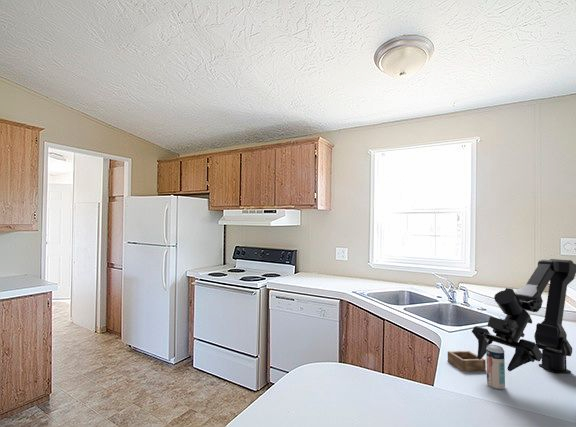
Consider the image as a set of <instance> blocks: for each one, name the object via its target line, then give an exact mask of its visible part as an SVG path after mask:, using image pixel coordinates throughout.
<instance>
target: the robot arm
mask: <svg viewBox="0 0 576 427" xmlns="http://www.w3.org/2000/svg"><path fill="white" fill-rule="evenodd" d="M575 277H576V263H574V262H573V260H569V259H557V258H551V259H540V260H538V262H537V266H536V268H535V269H534V271H533V273H532V274H531V276H530V277H529V279H528V281H527V282H526V284H524V286H521V287H518V288H517V289H516V290H514V288H507V287H506V288H505V289H504V290H501V291H498V292H497V293H495V294H494V298H493V300H494V301H495V303H496V304H497V306H498V307H499V309H500V310H501V311H502V313H504V315H506V316H505V318H504V319H502V318H498V317H494V316H489V318H488V322H487V325H486V326H487V327H488V328H491V329H492V332H493V333H494V334H495V335H494V334H491V332H490V331H489V330H488V328H485V327H481V326H477V325H476V326H474V327H473V328H472V329H471V333H472V334H473V335H474V337H475V338H476V340H477V341H478V343H477V345H478V346H477V347H478V348H477V358H478V359H479V360H480V359H481V358H483V359H484V356H485V355H486V348H487V347H488V345H493V344H492V343H498V344H501V345H504V346H507V347H510V348H513V349H515V350H514V351H515V352H514V354H513V356H512V357H511V359H510V361H509V364H508V366H507V369H506V370H507V371H508V372H512V371H514V370H515V369H517V368H519V367H521V366H523V365H526V364H528V363H530V362H532V363H534V362H535V361H536V362H541V363H539V364H538V366H539V367H541V368H542V369H543V368H544V369H545V370H548V371H550V372H552V373H555V374H563V373H566V374H568V373H572V371H571V370H570V369H567V357H572V353H573V347H572V346H571V343H570V341H569V340H568V339H567V332H566V330H565V328H564V326H563V318H564V310H565V304H566V296H567V288H568V285H569V284H571V283H572V282H573V281H574V280H575ZM548 284H549V285H548ZM547 285H548V286H549V287H548V292H547V293H548V294H547V300H546V306H545V313H544V320H542V321H541V322H538V323H536V326H535V333H534V341H535V342H534V341H530V340H527V339H523V338H524V337H525V333H524V331H525V329H526V328H527V325H528V324H533V319H532V318H531V314H529V312H531V313H538V312H539V311H540V309H541V308H542V305H543V302H544V300H543V298H542V295H543V293H544V291H545V289H546V288H547ZM520 338H521V339H520ZM540 349H541V350H540Z"/></svg>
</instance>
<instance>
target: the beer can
mask: <svg viewBox="0 0 576 427" xmlns="http://www.w3.org/2000/svg"><path fill="white" fill-rule="evenodd" d="M485 355H486V359H485V360H486V384H487V385H488V387H490V388H493V389H495V390H504V389H505V388H506V371H505V370H506V369H505V368H506V367H505V366H506V362H505V350H504V348H503V347H502V346H501V345H496V344H489V345H488V347H487V348H486V354H485Z"/></svg>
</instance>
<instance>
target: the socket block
mask: <svg viewBox="0 0 576 427" xmlns="http://www.w3.org/2000/svg"><path fill="white" fill-rule="evenodd" d="M477 356H478V354H476V353H473V352H472V351H469V350H453V351H452V350H451V351H447V362H448V363H450V364H451V365H453V366H454V367H456V368H457V369H459V370H461V371H462V372H470V371H471V372H472V371H473V372H474V371H475V372H476V371H487V360H486V359H485V358H484V357H483V358H481V359H480V360H479V359H478V358H477Z"/></svg>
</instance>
